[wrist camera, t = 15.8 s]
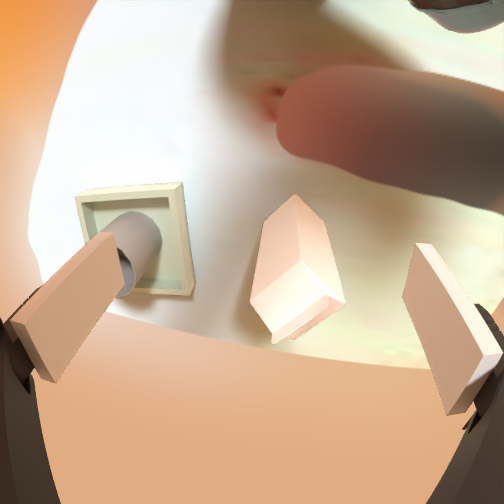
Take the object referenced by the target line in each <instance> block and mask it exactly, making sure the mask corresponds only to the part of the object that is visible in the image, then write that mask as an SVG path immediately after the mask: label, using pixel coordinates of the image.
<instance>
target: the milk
mask: <svg viewBox="0 0 504 504" xmlns="http://www.w3.org/2000/svg"><path fill="white" fill-rule="evenodd" d="M250 303H251V305H252V306H253V308H254V309H255V310H256V312H257V313H258V315H259V316H260V317H261V319H262V320H263V322H264V323H265V325H266V326H267V327H268V329H269V330H270V332H271V333H272V339H271V343H272V344H276V343H277V342H279V341H280V340H282V339H283V338H285V337H287V338H291V339H297V338H298V337H300V336H301V335H303V334H304V333H305V332H307V331H308V330H310V329H311V328H313V327H314V326H316V325H317V324H319V323H320V322H321V321H323V320H324V319H326V318H327V317H329V316H330V315H331V314H333V313H334V312H336V311H337V310H338V309H340V308H341V307H343V306H344V305H345V304H346V303H345V298H344V294H343V290H342V286H341V282H340V278H339V274H338V270H337V267H336V263H335V259H334V255H333V252H332V248H331V244H330V241H329V237H328V233H327V230H326V226H325V223H324V222H323V221H322V220H321V219H320V218H319V217H318V216H317V215H316V214H315V213H314V211H313V210H312V209H311V208H310V207H309V206H308V205H307V204H306V203H305V202H304V201H303V200H302V199H301V198H300V197H299V196H298V195H297V194H296V193H295V194H293V195H292V196H291V197H290V198H289V199H288V200H287V201H286V202H285V203H284V204H282V205H281V206H280V207H279V208H278V209H277V210H276V211H275V212H274V213H273V214H271V215H270V216H269V217H268V218H267V219H266V220H265V221H264V223H263V229H262V235H261V240H260V246H259V252H258V257H257V263H256V269H255V274H254V280H253V286H252V291H251V297H250Z"/></svg>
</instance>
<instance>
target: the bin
mask: <svg viewBox="0 0 504 504" xmlns="http://www.w3.org/2000/svg"><path fill="white" fill-rule="evenodd" d="M75 201H76V206H77V211H78V215H79V220H80V224H81V228H82V232H83V236H84V240H85V244H86V243H87V242H88V241H89V240H91V239H92V238H93V237H94V236H95V235H96V234H98V233H99V232H100V231H101V230H102V229H104V228H105V227H106V226H107V225H108V224H109V223H111V222H112V221H113V220H114V219H116V218H117V217H118V216H119V215H121V214H123V213H126V212H128V211H136V212H142V213H144V214H145V215H147V216H148V217H150V218H152V219H153V221H154V222H155V223H156V225H157V226H158V228H159V229H160V233H161V237H162V245H161V250H160V252H159V254H158V255H157V256H156V258H155V259H154V261H153V262H152V263H151V265H150V266H149V267H148V269H147V270H146V272H145V273H144V274H143V276H142V277H141V278H140V280H139V281H138V283H137V284H136V285H135V287H134V288H133V289H132V290H131V291H130V293H145V294H165V295H187V296H190V294H191V292H192V290H193V288H194V285H195V276H194V269H193V262H192V255H191V248H190V240H189V232H188V225H187V216H186V208H185V200H184V191H183V182H174V183H158V184H143V185H130V186H118V187H107V188H97V189H87V190H85V191H83V192H82V193H80V194H78V195H76V196H75Z"/></svg>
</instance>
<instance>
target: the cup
mask: <svg viewBox="0 0 504 504" xmlns="http://www.w3.org/2000/svg"><path fill="white" fill-rule="evenodd" d="M100 232H114V237H115V242H116V247H117V252H118V256H119V261H120V265H121V269H122V274H123V278H124V282H125V284H124V286H123V287H122V288H121V290H120V291H119V292H118V294H117V295H116V297H115V298H119V297H123V296H127V295H128V294H129V293H130V291H131V290H132V289H133V288H134V287H135V285H136V284H137V283H138V281H139V280H140V278H141V277H142V276H143V274H144V273H145V272H146V270H147V269H148V267H149V266H150V265H151V263H152V262H153V261H154V259H155V258H156V256H157V255H158V254H159V252H160V250H161V245H162V237H161V233H160V229H159V228H158V226H157V225H156V223H155V222H154V221H153V219H152V218H150V217H148V216H147V215H145V214H144V213H142V212H136V211H128V212H126V213H123V214H121V215H119V216H118V217H117V218H116V219H114V220H113V221H112V222H111V223H109V224H108V225H107V226H106V227H105V228H104V229H102V230H101V231H100ZM96 235H97V234H96ZM96 235H95V236H96ZM95 236H94V237H95ZM94 237H93V238H94ZM93 238H92V239H93ZM89 241H90V240H89ZM89 241H88V242H89ZM88 242H87V243H88ZM87 243H86V244H87ZM86 244H85V245H86Z"/></svg>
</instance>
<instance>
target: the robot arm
mask: <svg viewBox="0 0 504 504" xmlns="http://www.w3.org/2000/svg"><path fill="white" fill-rule="evenodd" d="M408 1H409V2H410V4H411V5H412V6H413V7H414V8H415V9H417V10H419V11H421V12H424V13H425V14H427V15H428V16H429V17H431V18H432V19H433V20H434V21H436V22H437V23H438V24H439V25H441V26H442V27H444V28H445V29H447V30H450V31H454V32H457V33H475V32H480V31H484V30H487V29H490V28H492V27H495V26H497V25H499V24H501V23H503V22H504V0H408ZM124 284H125V282H124V278H123V274H122V269H121V265H120V261H119V256H118V252H117V247H116V242H115V237H114V232H99V233H98V234H97V235H96V236H95V237H94V238H93V239H91V240H90V241H89V242H88V243H87V244H86V245H85V246H84V247H83V248H81V249H80V250H79V251H78V252H77V253H76V254H75V255H74V256H73V257H72V258H71V259H70V260H69V261H67V262H66V263H65V264H64V265H63V266H62V267H61V268H60V269H59V270H58V271H57V272H56V273H55V274H54V275H53V276H52V277H51V278H50V279H49V280H48V281H47V282H46V283H45V284H44V285H42V286H41V287H39V288H38V289H36V290H35V291H34V292H33V293H32V294H31V295H30V296H29V298H28V299H26V300H25V301H24V302H23V305H21V306H20V307H19V308H18V309H17V310H16V311H15V312H14V313H13V314H12V315H11V316H10V317H9V318H8V320H7V321H6V322H5V323H4V324H3V322H2V320H1V318H0V504H61V503H60V500H59V497H58V494H57V490H56V487H55V483H54V480H53V476H52V473H51V469H50V465H49V461H48V457H47V453H46V448H45V444H44V439H43V434H42V429H41V424H40V418H39V412H38V406H37V399H36V392H35V384H34V379H33V377H32V375H31V372H32V370H33V369H34V368H35V369H36V371H37V372H38V374H39V375H40V377H41V379H44V380H47V381H50V382H53V383H57V381H58V379H59V378H60V376H61V375H62V373H63V372H64V370H65V369H66V367H67V365H68V364H69V363H70V361H71V359H72V358H73V357H74V355H75V354H76V352H77V351H78V349H79V347H80V346H81V345H82V343H83V342H84V340H85V339H86V337H87V336H88V334H89V333H90V332H91V330H92V329H93V327H94V326H95V324H96V323H97V322H98V320H99V319H100V317H101V316H102V314H103V313H104V312H105V310H106V309H107V308H108V306H109V305H110V303H111V302H112V301H113V299H114V298H115V297H116V295H117V294H118V292H119V291H120V290H121V288H122V287H123V286H124ZM402 298H403V300H404V303H405V305H406V307H407V310H408V312H409V314H410V317H411V319H412V321H413V324H414V326H415V329H416V331H417V334H418V336H419V339H420V341H421V344H422V346H423V349H424V352H425V354H426V357H427V360H428V362H429V365H430V368H431V371H432V373H433V376H434V379H435V382H436V385H437V388H438V390H439V394H440V397H441V399H442V402H443V406H444V409H445V412H446V415H447V416H448V415H454V414H459V413H465V412H466V411H467V409H468V408H469V407H470V405H471V404H472V402H473V401H474V404H475V407H476V409H477V410H476V411H475V413H474V414H473V415H472V417H471V418H470V419H469V421H468V422H467V423H466V425H465V426H464V427H463V430H465V429H466V428H467V429H466V431H465V433H464V435H463V437H462V440H461V442H460V444H459V446H458V448H457V450H456V452H455V454H454V456H453V458H452V460H451V462H450V463H449V465H448V467H447V469H446V471H445V473H444V474H443V476H442V478H441V480H440V481H439V483H438V485H437V486H436V488H435V490H434V492H433V493H432V495H431V496H430V498H429V500H428V501H427V503H426V504H504V336H503V334H502V332H501V331H499V328H498V326H497V324H496V323H494V322H495V321H494V320H493V318H492V317H491V315H490V314H489V312H488V311H487V310H486V309H484V308H483V307H482V306H481V305H480V304H473V302H472V301H471V299H470V298H469V296H468V295H467V293H466V292H465V290H464V289H463V287H462V286H461V284H460V283H459V282H458V280H457V279H456V277H455V276H454V274H453V273H452V272H451V270H450V269H449V267H448V266H447V265H446V263H445V262H444V261H443V259H442V258H441V257H440V255H439V254H438V253H437V251H436V250H435V249H434V247H433V246H432V245H431V244H424V243H415V247H414V252H413V256H412V260H411V265H410V269H409V273H408V277H407V281H406V285H405V288H404V292H403V296H402Z"/></svg>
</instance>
